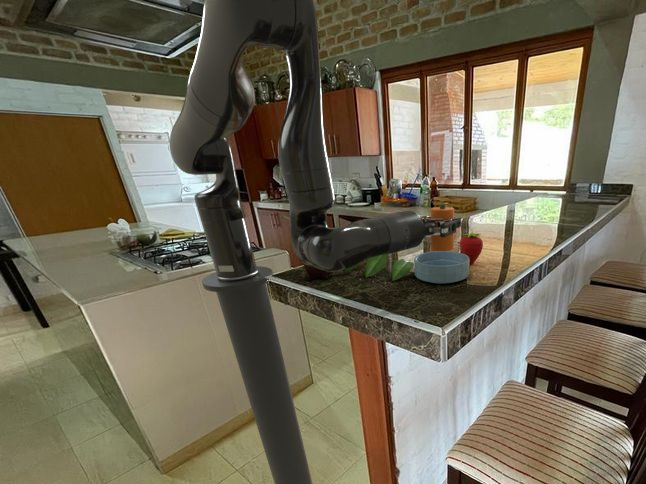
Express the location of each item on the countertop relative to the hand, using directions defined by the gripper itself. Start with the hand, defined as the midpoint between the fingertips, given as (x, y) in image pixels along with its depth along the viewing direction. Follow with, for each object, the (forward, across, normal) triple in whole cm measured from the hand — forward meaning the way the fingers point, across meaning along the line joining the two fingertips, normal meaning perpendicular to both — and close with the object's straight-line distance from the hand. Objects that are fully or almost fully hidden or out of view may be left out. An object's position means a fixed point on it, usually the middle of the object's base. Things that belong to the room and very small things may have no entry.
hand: (449, 220), depth 77 cm
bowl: (-2, 0, +13) cm, 13 cm away
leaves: (-11, +14, +13) cm, 22 cm away
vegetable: (-3, 0, +6) cm, 7 cm away
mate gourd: (-23, +24, +13) cm, 35 cm away
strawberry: (+10, 0, +13) cm, 16 cm away
